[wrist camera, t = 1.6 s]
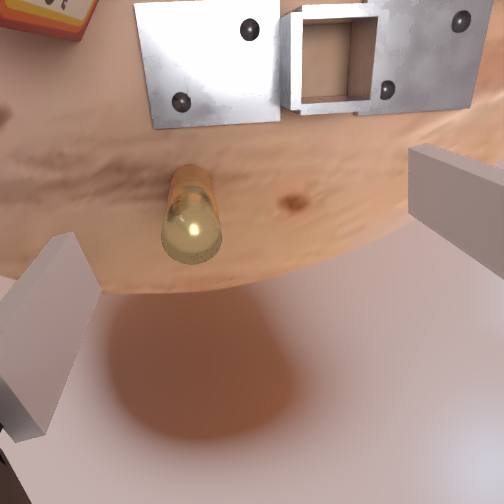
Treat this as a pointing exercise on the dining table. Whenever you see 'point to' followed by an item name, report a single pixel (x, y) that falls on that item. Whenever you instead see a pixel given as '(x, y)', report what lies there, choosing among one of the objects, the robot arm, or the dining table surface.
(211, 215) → the hinge pin
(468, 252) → the robot arm
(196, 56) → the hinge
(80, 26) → the baking soda box
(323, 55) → the dining table surface
